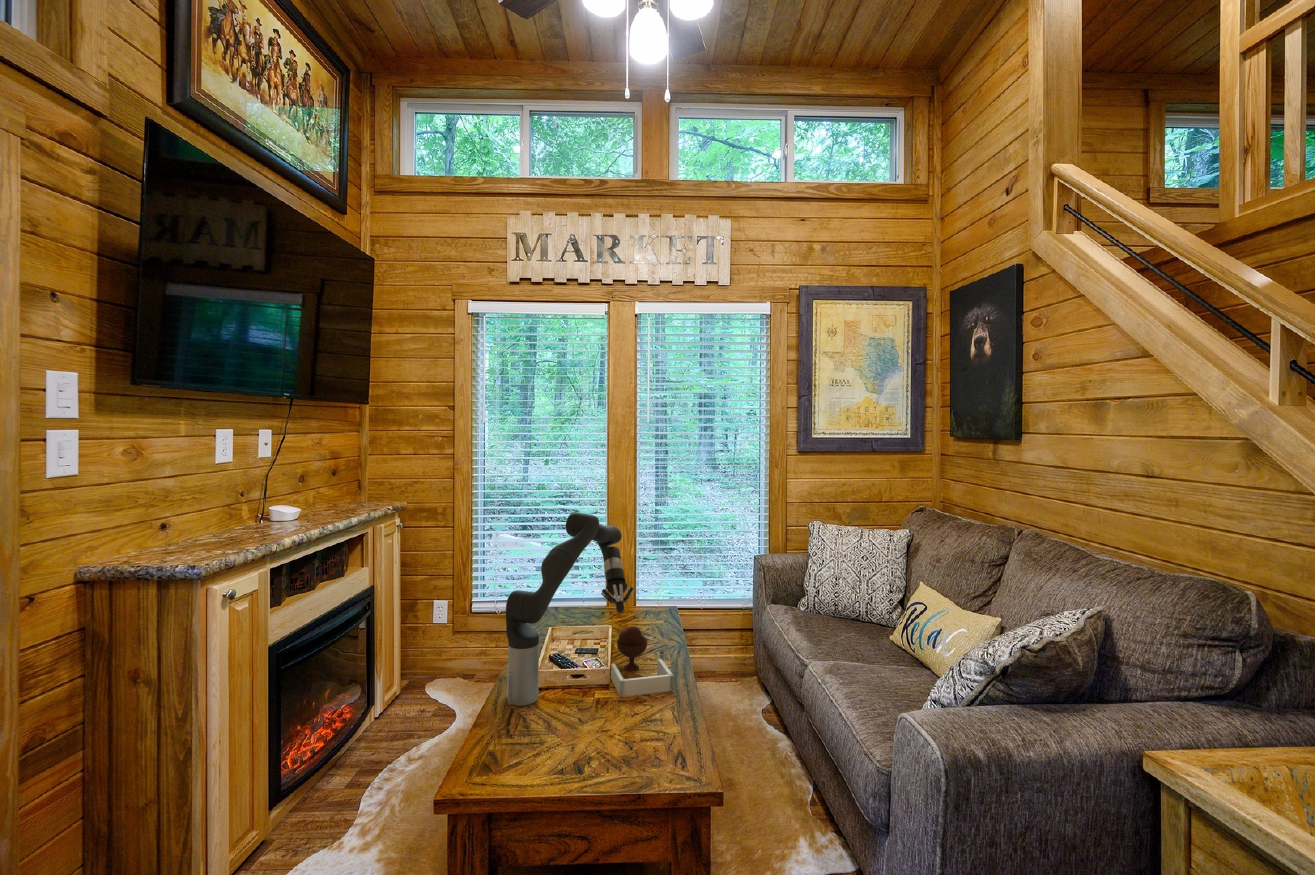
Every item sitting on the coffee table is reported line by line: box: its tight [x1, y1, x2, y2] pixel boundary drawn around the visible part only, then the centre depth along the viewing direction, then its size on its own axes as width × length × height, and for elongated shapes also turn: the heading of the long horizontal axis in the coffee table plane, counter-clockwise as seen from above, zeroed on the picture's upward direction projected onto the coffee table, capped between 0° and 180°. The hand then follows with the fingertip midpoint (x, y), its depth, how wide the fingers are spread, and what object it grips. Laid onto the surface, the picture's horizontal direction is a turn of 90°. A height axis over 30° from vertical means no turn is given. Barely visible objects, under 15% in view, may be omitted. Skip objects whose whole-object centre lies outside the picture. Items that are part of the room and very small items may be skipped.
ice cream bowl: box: [616, 625, 648, 673], centre depth 205 cm, size 11×11×15 cm
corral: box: [610, 658, 675, 698], centre depth 192 cm, size 17×14×5 cm
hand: (620, 612), depth 222 cm, fingers closed
